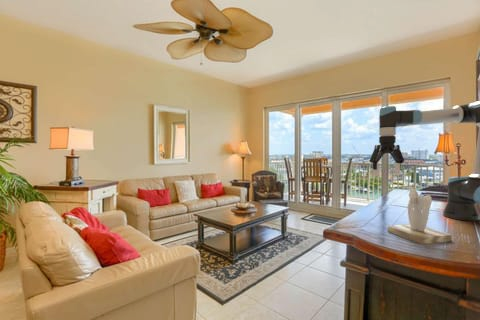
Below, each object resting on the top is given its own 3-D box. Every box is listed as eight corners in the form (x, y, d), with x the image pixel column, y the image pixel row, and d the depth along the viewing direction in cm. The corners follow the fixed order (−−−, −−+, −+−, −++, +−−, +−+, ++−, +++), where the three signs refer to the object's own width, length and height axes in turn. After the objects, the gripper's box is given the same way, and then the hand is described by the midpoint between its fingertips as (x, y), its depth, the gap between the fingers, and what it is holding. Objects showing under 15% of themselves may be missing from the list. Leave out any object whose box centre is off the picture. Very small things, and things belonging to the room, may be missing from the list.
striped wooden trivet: (415, 228, 116) (415, 223, 116) (451, 240, 100) (451, 234, 100) (387, 231, 112) (387, 225, 112) (420, 244, 96) (420, 237, 96)
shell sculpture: (431, 234, 100) (432, 191, 100) (407, 231, 105) (408, 189, 104) (428, 229, 107) (429, 188, 107) (406, 226, 112) (407, 187, 111)
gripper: (400, 136, 135) (399, 174, 136) (362, 136, 130) (361, 175, 130) (412, 135, 128) (412, 175, 129) (372, 135, 122) (372, 176, 123)
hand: (386, 175), depth 130 cm, fingers open, 13 cm apart
